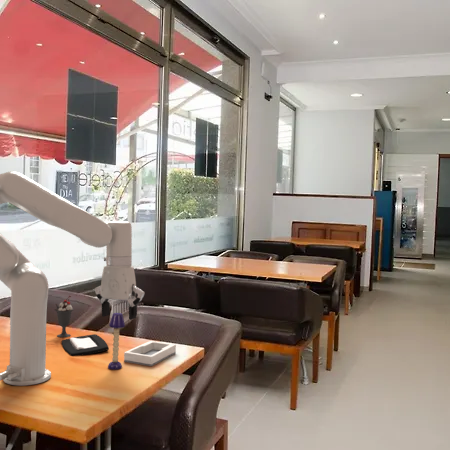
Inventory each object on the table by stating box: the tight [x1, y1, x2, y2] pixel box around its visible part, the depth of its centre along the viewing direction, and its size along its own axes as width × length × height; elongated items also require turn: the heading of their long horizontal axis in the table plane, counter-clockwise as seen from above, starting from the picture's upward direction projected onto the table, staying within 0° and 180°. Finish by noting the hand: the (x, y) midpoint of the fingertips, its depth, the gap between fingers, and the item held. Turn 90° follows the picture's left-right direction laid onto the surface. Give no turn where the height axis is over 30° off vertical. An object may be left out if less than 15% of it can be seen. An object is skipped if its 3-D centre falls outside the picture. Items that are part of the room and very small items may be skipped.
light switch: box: [61, 333, 109, 357], centre depth 180 cm, size 20×3×14 cm
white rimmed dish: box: [123, 340, 177, 367], centre depth 171 cm, size 16×10×3 cm, turn 158°
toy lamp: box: [107, 312, 126, 370], centre depth 159 cm, size 5×5×17 cm
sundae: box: [54, 295, 75, 339], centre depth 194 cm, size 7×7×15 cm
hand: (119, 317), depth 159 cm, fingers open, 9 cm apart
